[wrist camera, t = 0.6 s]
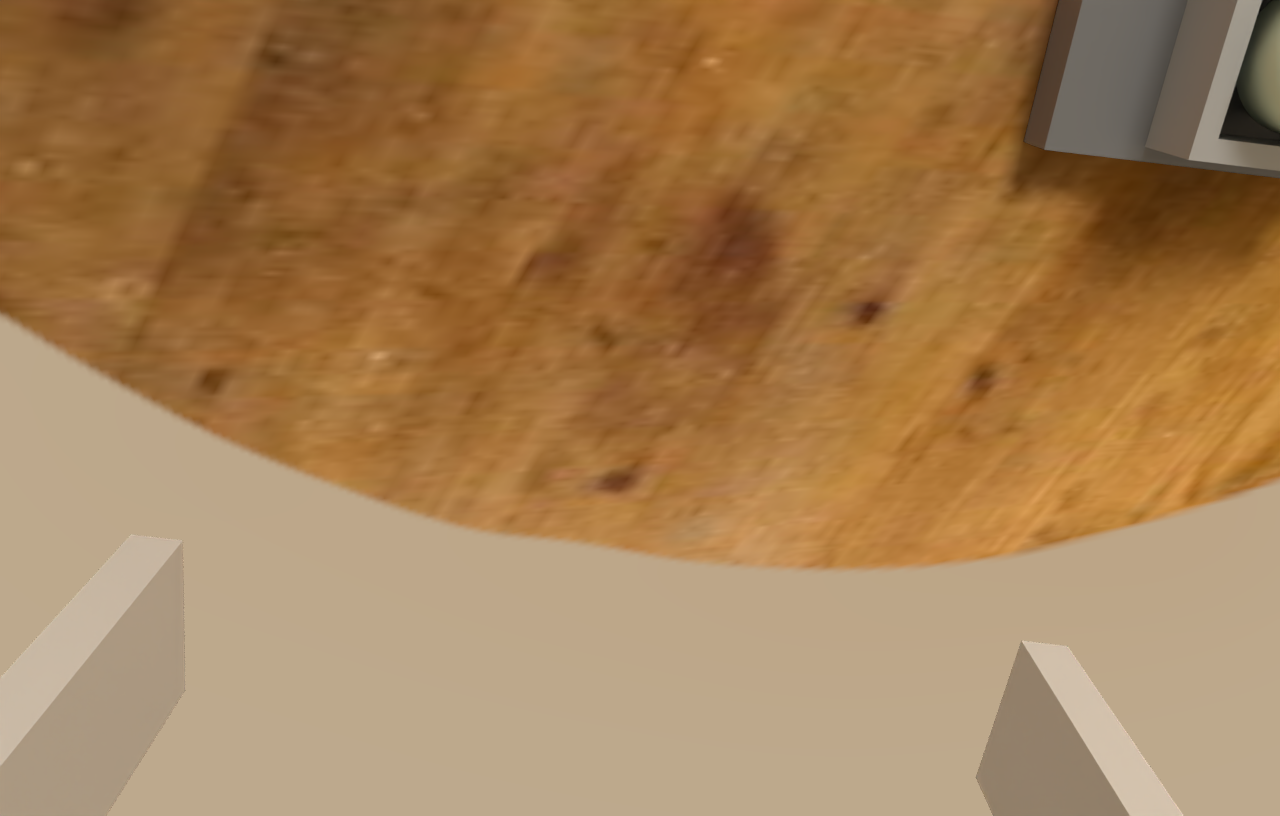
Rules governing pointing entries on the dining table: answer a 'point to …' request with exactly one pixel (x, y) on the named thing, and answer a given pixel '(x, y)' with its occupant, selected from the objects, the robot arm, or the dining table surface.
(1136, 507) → the dining table surface
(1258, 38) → the button sage
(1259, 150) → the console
